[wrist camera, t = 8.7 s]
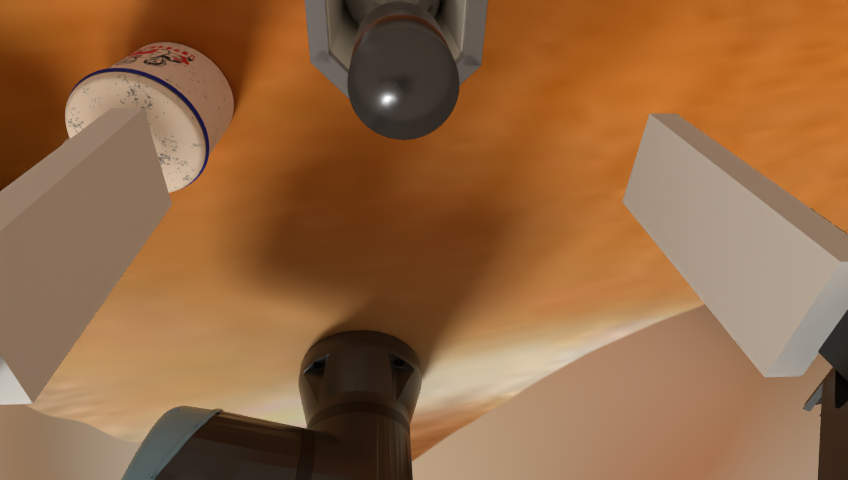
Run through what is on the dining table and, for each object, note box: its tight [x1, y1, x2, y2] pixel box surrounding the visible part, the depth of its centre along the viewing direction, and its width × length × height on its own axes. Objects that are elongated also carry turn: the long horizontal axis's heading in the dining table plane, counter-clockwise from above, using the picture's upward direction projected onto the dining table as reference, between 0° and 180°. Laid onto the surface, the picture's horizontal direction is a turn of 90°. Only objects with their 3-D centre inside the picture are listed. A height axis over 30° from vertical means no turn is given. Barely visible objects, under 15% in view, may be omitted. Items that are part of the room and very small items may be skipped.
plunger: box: [347, 0, 459, 140], centre depth 25 cm, size 6×6×20 cm
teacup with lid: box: [62, 42, 234, 192], centre depth 36 cm, size 12×9×12 cm
